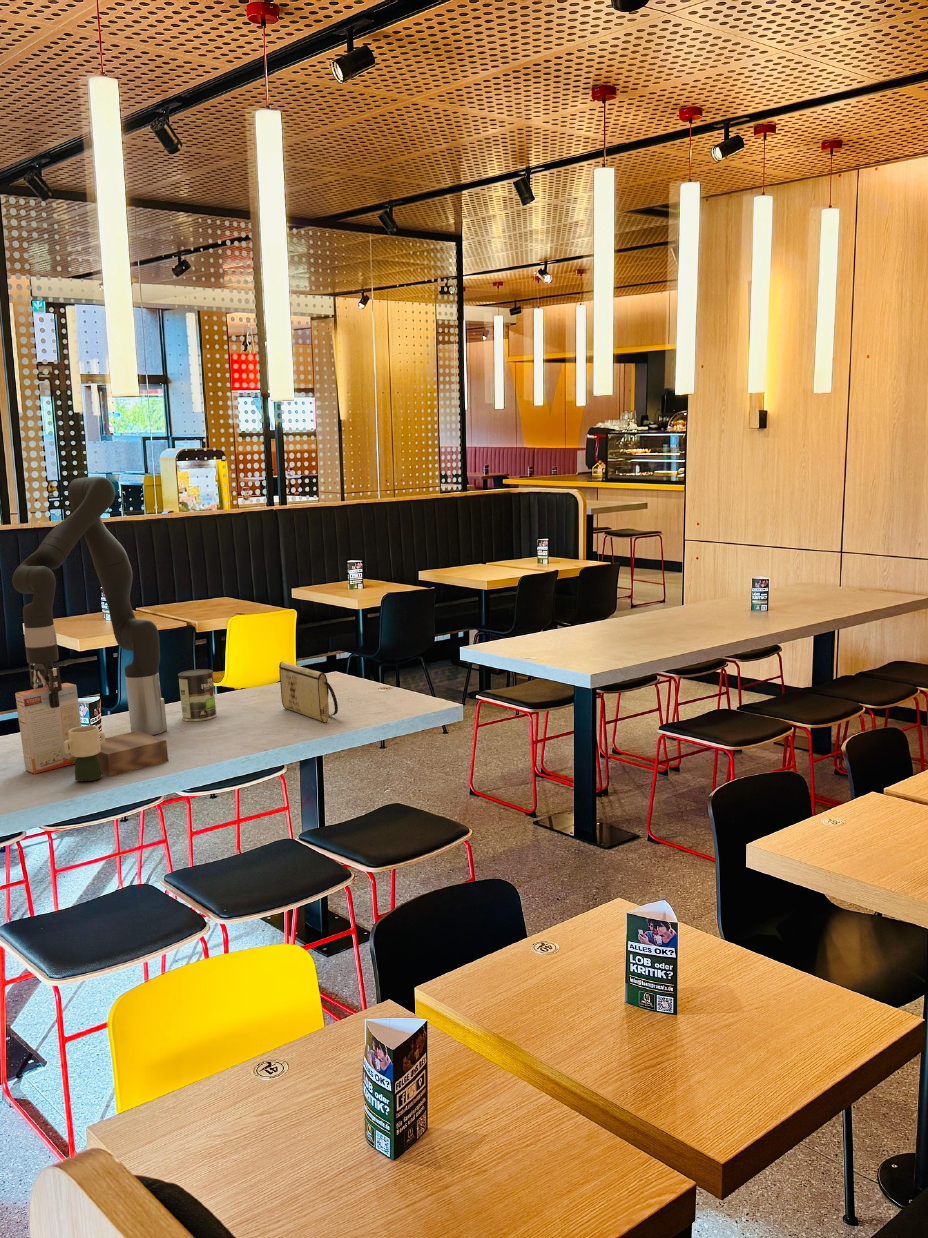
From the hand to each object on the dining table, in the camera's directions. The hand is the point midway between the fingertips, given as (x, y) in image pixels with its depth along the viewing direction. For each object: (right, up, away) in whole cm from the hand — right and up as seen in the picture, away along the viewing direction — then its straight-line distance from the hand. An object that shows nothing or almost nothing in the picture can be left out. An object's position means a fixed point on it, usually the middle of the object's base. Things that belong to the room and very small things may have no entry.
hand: (48, 705), depth 267 cm
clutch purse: (+61, -7, +45) cm, 76 cm away
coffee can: (+27, -8, +49) cm, 56 cm away
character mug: (+15, -18, -12) cm, 26 cm away
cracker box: (+1, -16, +2) cm, 17 cm away
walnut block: (+19, -16, +2) cm, 25 cm away
